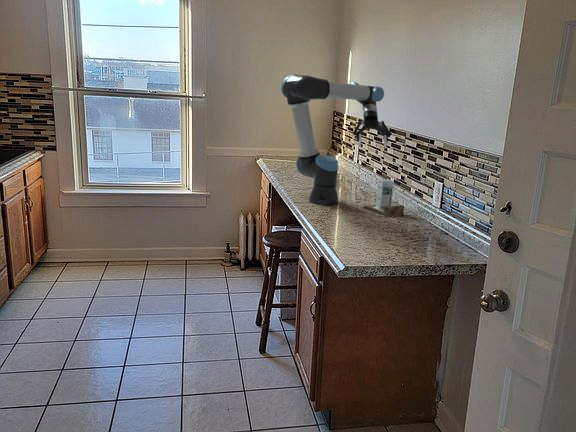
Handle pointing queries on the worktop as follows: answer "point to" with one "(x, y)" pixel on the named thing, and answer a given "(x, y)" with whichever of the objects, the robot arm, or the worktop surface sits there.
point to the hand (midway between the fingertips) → (373, 145)
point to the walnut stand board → (386, 210)
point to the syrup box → (384, 193)
